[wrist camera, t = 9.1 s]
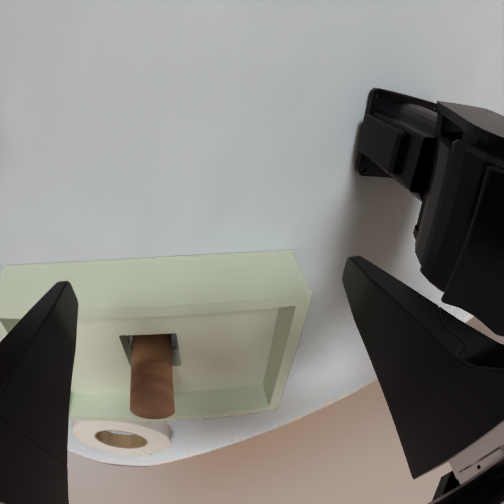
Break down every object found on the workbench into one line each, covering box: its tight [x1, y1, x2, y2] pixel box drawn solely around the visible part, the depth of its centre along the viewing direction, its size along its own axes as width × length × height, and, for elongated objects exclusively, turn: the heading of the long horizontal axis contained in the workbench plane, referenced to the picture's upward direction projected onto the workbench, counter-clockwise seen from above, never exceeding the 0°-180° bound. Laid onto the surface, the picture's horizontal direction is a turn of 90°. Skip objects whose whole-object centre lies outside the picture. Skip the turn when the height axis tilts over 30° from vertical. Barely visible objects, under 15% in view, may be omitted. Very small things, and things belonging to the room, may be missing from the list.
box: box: [0, 250, 312, 421], centre depth 26 cm, size 24×18×5 cm
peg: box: [130, 334, 175, 419], centre depth 25 cm, size 4×4×8 cm
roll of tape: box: [72, 419, 171, 455], centre depth 39 cm, size 16×15×3 cm
